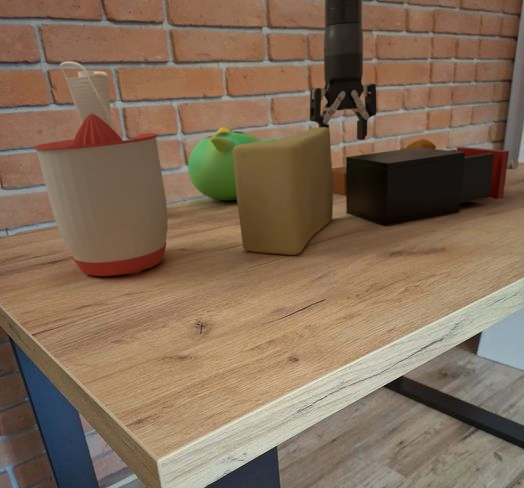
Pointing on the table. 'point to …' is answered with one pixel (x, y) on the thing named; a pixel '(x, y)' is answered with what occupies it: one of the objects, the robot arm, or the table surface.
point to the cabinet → (404, 185)
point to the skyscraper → (90, 94)
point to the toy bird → (217, 163)
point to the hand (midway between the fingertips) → (343, 141)
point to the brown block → (339, 180)
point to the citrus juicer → (107, 198)
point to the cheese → (284, 191)
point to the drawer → (484, 173)
